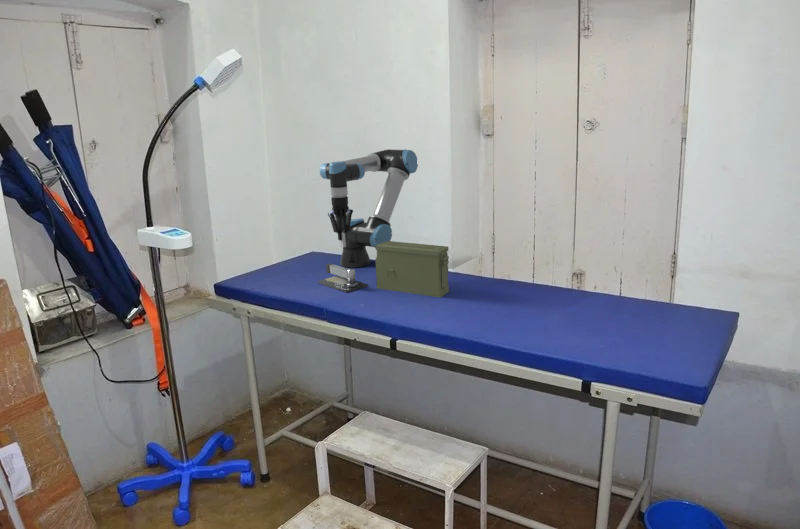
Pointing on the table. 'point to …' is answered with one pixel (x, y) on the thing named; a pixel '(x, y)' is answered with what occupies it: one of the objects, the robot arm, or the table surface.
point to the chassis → (342, 284)
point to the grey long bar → (341, 272)
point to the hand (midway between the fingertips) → (342, 246)
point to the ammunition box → (412, 268)
